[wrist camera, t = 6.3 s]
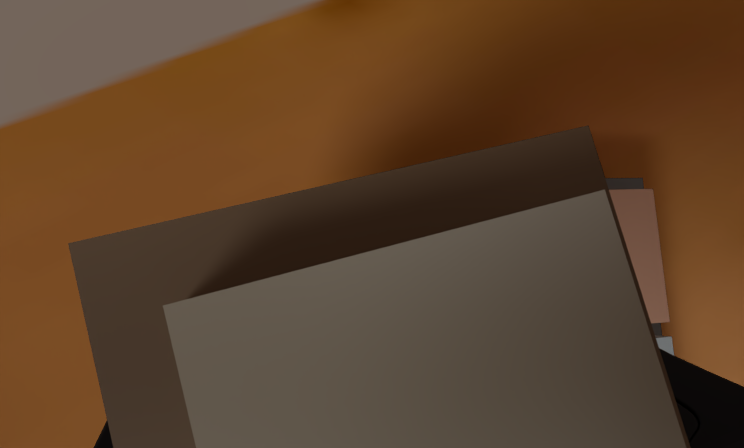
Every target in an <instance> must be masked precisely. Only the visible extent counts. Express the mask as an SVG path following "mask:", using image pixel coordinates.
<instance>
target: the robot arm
mask: <svg viewBox="0 0 744 448" xmlns="http://www.w3.org/2000/svg"><path fill="white" fill-rule="evenodd" d="M659 350H660V353H661V356H662V359H663V362H664V365H665V369H666V372H667V375H668V378H669V381H670V384H671V388H672V391H673V394H674V397H675V400H676V403H677V406H678V410H679V413H680V416H681V419H682V422H683V425H684V429H685V432H686V435H687V438H688V441H689V444H690V447H691V448H744V387H743V386H741V385H738V384H736V383H734V382H732V381H729V380H727V379H725V378H722V377H720V376H718V375H716V374H713V373H711V372H709V371H707V370H704V369H702V368H700V367H698V366H696V365H693V364H691V363H689V362H687V361H685V360H682V359H680V358H678V357H676V356H674V355H672V354H670V353H668V352H666V351H664V350H662V349H660V348H659ZM94 448H113V444H112V439H111V435H110V430H109V425H108V421H106V423H105V426H104V428H103V430H102V432H101V434H100V436H99V438H98V440H97V442H96V444H95V446H94Z"/></svg>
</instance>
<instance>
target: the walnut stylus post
mask: <svg viewBox="0 0 744 448" xmlns="http://www.w3.org/2000/svg"><path fill="white" fill-rule="evenodd" d="M68 244H69V249H70V253H71V258H72V262H73V267H74V271H75V276H76V281H77V285H78V290H79V294H80V299H81V303H82V308H83V312H84V317H85V321H86V326H87V330H88V335H89V339H90V344H91V348H92V353H93V358H94V362H95V367H96V371H97V376H98V380H99V385H100V389H101V394H102V398H103V403H104V407H105V412H106V416H107V421H108V425H109V430H110V435H111V439H112V444H113V448H691V447H690V444H689V441H688V438H687V435H686V432H685V429H684V425H683V422H682V419H681V416H680V413H679V410H678V406H677V403H676V400H675V397H674V394H673V391H672V388H671V384H670V381H669V378H668V375H667V372H666V369H665V365H664V362H663V359H662V356H661V353H660V350H659V346H658V343H657V340H656V337H655V334H654V331H653V328H652V324H651V321H650V318H649V315H648V312H647V309H646V305H645V302H644V299H643V296H642V293H641V290H640V287H639V283H638V280H637V277H636V274H635V271H634V268H633V264H632V261H631V258H630V255H629V252H628V249H627V246H626V242H625V239H624V236H623V233H622V230H621V227H620V223H619V220H618V217H617V214H616V211H615V208H614V205H613V201H612V198H611V195H610V192H609V189H608V186H607V182H606V179H605V176H604V173H603V170H602V167H601V163H600V160H599V157H598V154H597V151H596V148H595V145H594V141H593V138H592V135H591V132H590V129H589V126H584V127H580V128H575V129H571V130H567V131H562V132H558V133H553V134H549V135H545V136H540V137H536V138H531V139H527V140H522V141H518V142H514V143H509V144H505V145H500V146H496V147H492V148H487V149H483V150H478V151H474V152H470V153H465V154H461V155H456V156H452V157H447V158H443V159H439V160H434V161H430V162H425V163H421V164H417V165H412V166H408V167H403V168H399V169H395V170H390V171H386V172H381V173H377V174H373V175H368V176H364V177H359V178H355V179H350V180H346V181H342V182H337V183H333V184H328V185H324V186H320V187H315V188H311V189H306V190H302V191H298V192H293V193H289V194H284V195H280V196H275V197H271V198H267V199H262V200H258V201H253V202H249V203H245V204H240V205H236V206H231V207H227V208H223V209H218V210H214V211H209V212H205V213H201V214H196V215H192V216H187V217H183V218H178V219H174V220H170V221H165V222H161V223H156V224H152V225H148V226H143V227H139V228H134V229H130V230H126V231H121V232H117V233H112V234H108V235H104V236H99V237H95V238H90V239H86V240H81V241H77V242H73V243H68Z"/></svg>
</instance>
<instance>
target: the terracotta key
mask: <svg viewBox="0 0 744 448" xmlns="http://www.w3.org/2000/svg"><path fill="white" fill-rule="evenodd" d="M609 192H610V195H611V198H612V201H613V205H614V208H615V211H616V214H617V217H618V220H619V223H620V227H621V230H622V233H623V236H624V239H625V242H626V246H627V249H628V252H629V255H630V258H631V261H632V264H633V268H634V271H635V274H636V277H637V280H638V283H639V287H640V290H641V293H642V296H643V299H644V302H645V305H646V309H647V312H648V315H649V318H650V321H651V323H663V322H670V319H669V312H668V304H667V296H666V288H665V280H664V272H663V264H662V256H661V248H660V240H659V233H658V225H657V217H656V209H655V201H654V193H653V189H619V190H609Z"/></svg>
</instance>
